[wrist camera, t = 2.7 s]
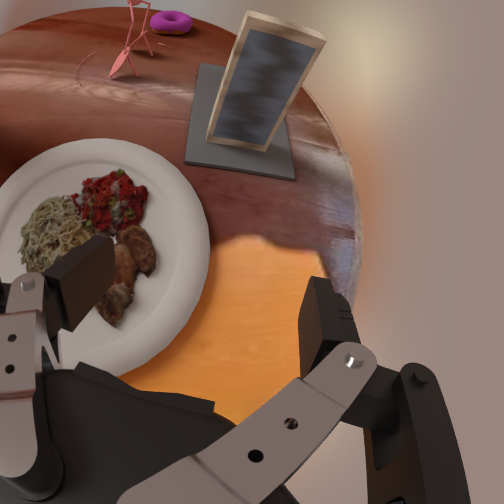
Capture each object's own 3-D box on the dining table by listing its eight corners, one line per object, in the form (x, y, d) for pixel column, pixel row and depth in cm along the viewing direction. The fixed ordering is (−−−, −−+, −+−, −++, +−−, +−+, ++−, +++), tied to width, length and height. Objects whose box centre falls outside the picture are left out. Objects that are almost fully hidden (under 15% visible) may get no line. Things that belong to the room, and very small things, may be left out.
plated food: (-35, 356, 18) (-51, 352, 15) (19, 147, 30) (14, 131, 27) (210, 389, 27) (217, 391, 24) (209, 157, 39) (214, 140, 36)
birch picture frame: (205, 142, 39) (248, 16, 22) (206, 130, 40) (247, 10, 23) (265, 153, 42) (327, 41, 24) (264, 140, 43) (321, 33, 26)
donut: (146, 36, 50) (149, 19, 46) (151, 22, 54) (154, 7, 49) (190, 38, 53) (194, 22, 49) (190, 24, 57) (194, 10, 53)
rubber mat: (293, 181, 42) (295, 178, 41) (184, 163, 37) (184, 160, 37) (275, 80, 53) (275, 78, 53) (200, 65, 49) (200, 62, 48)
